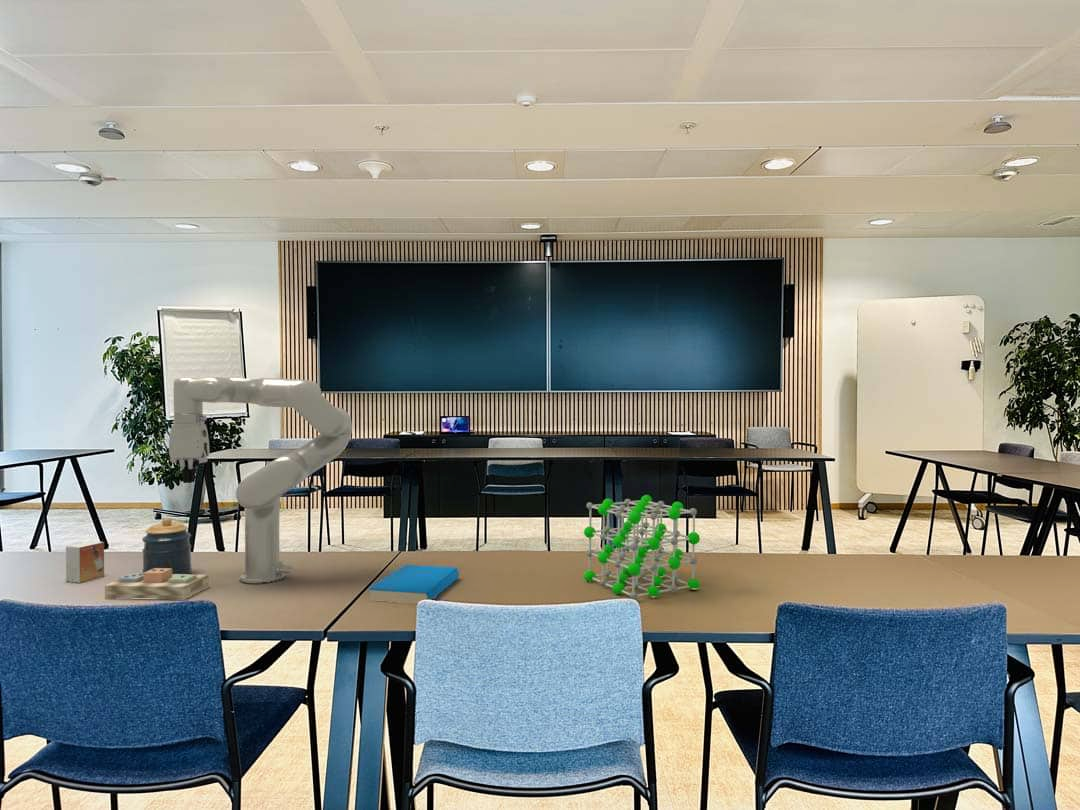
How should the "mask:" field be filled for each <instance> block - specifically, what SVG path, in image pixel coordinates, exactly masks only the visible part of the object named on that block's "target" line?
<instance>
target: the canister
mask: <svg viewBox="0 0 1080 810" xmlns="http://www.w3.org/2000/svg"><path fill="white" fill-rule="evenodd" d="M188 529H189V527H188V526H187V525H185V524H183V523H181V522H173V521H172V519H171V518H170V517H164V518H163V519H162V520H161V523H156V524H153V525H151V526H150V527H148V528H147V529H145V533H146V535H145V536H143V537H142V542H143V546H144V547H143V549H142V551H141V552H142V574H144V572H147V571H149V570H152V569H154V568H172V574H191V571H192V559H191V558H192V557H191V556H192V553H191V552H192V551H191V549H192V548H191V547H192V545H191V543H190V538H191V536H192V534H191V533H190V532H188V531H187V530H188Z"/></svg>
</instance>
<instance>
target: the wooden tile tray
mask: <svg viewBox="0 0 1080 810" xmlns="http://www.w3.org/2000/svg"><path fill="white" fill-rule="evenodd" d="M137 574H139V572H138V573H137ZM177 575H179V574H172V577H174V576H177ZM190 575H196V579H195V580H193V581H191V582H189V583H187V584H183V583H168V580H167V581H165V582H163V583H144V580H142V581H140V582H137V583H128V582H119V579H117V580H115V581H112V582H109V583H108V584H105V585H104V599H106V600H117V599H116V598H122V599H121V600H133V599H132V598H157V599H169V600H168V601H185V600H187V599H186V598H187V597H189V596H191V595H193V596H195V595H197V594H198V592H199V593H201V592H203V591H204V590H206V589H208V588H209V587H210V586H209V585H210V584H209V583H210V582H209V580H210V579H209V574H193V573H192V574H191V573H190ZM207 587H208V588H207ZM205 588H206V589H205ZM202 590H203V591H202ZM200 591H201V592H200ZM196 593H197V594H196ZM194 594H195V595H194ZM191 597H192V596H191ZM123 598H124V599H123ZM125 598H126V599H125ZM130 598H131V599H130ZM189 598H190V597H189Z"/></svg>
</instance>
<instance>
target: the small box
mask: <svg viewBox="0 0 1080 810" xmlns="http://www.w3.org/2000/svg"><path fill="white" fill-rule="evenodd" d="M65 574H66V575H65V581H66V582H67V581H69V583H76V582H77V583H78V584H80V583H84V582H87V581H91V580H95V578H96V579H99V577H100V578H104V577H105V542H104V541H98V540H97V541H96V540H95V541H94V540H88V541H85V542H80V543H76V544H72V545H66V546H65ZM103 576H104V577H103Z"/></svg>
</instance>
